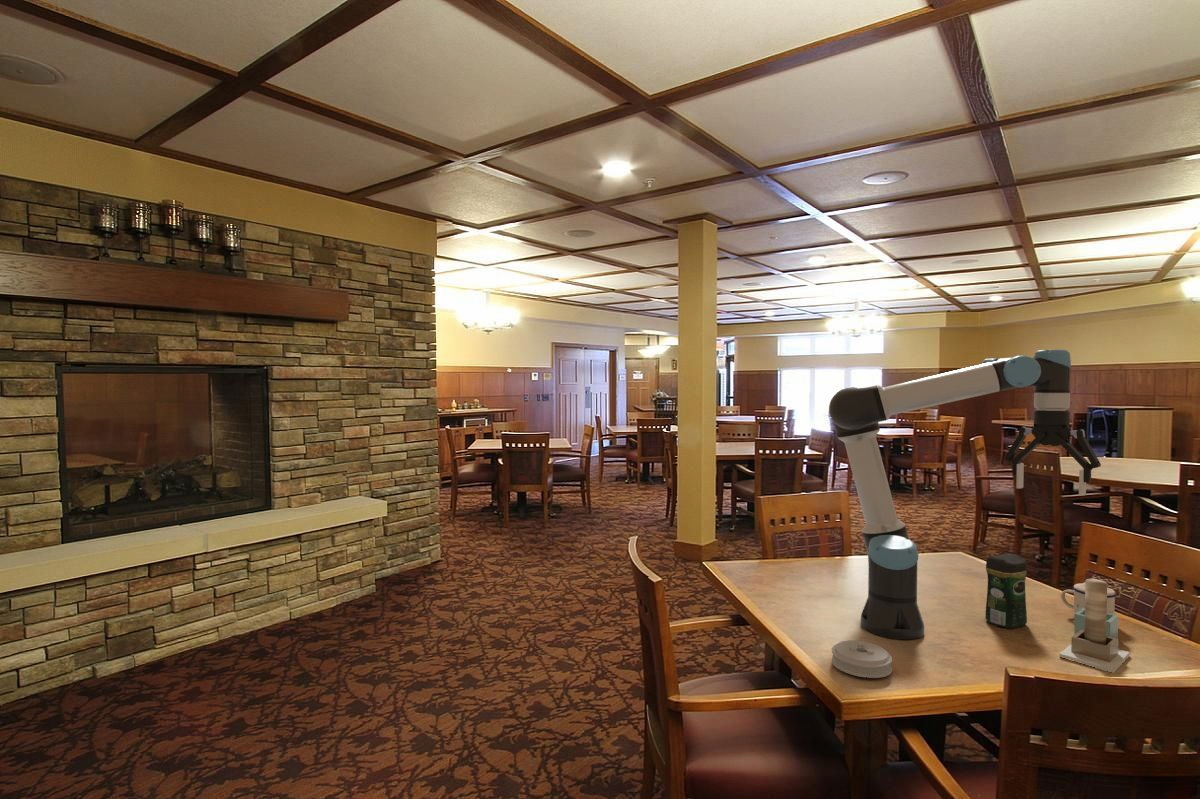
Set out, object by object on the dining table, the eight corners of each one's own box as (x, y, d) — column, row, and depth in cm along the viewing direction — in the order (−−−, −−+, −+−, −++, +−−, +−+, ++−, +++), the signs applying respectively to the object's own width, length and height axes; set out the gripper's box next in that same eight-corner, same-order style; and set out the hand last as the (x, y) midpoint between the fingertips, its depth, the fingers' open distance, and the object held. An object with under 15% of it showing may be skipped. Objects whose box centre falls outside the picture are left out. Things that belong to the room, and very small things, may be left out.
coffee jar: (1002, 615, 173) (1004, 549, 172) (1032, 625, 165) (1033, 556, 165) (979, 620, 169) (980, 553, 168) (1007, 631, 162) (1009, 560, 161)
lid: (870, 655, 148) (871, 634, 147) (904, 680, 135) (904, 657, 135) (821, 658, 146) (821, 637, 146) (850, 684, 133) (850, 661, 133)
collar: (1109, 662, 141) (1110, 647, 141) (1071, 651, 147) (1071, 637, 147) (1118, 654, 146) (1118, 639, 145) (1080, 643, 151) (1080, 629, 151)
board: (1113, 673, 138) (1113, 668, 138) (1059, 657, 146) (1059, 653, 146) (1129, 656, 147) (1129, 652, 147) (1077, 642, 154) (1077, 638, 154)
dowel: (1103, 658, 143) (1104, 585, 143) (1081, 652, 146) (1083, 581, 146) (1107, 653, 146) (1109, 582, 145) (1086, 647, 149) (1088, 577, 149)
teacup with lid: (1120, 623, 167) (1121, 580, 167) (1108, 631, 162) (1109, 587, 161) (1067, 610, 177) (1067, 569, 176) (1054, 617, 171) (1055, 575, 171)
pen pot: (1109, 646, 152) (1110, 622, 152) (1074, 637, 158) (1074, 613, 158) (1117, 639, 157) (1118, 615, 156) (1082, 630, 162) (1083, 607, 162)
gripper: (1117, 410, 152) (1115, 496, 153) (1002, 407, 172) (1001, 483, 172) (1108, 411, 148) (1106, 500, 148) (992, 408, 167) (990, 486, 168)
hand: (1050, 491), depth 160 cm, fingers open, 13 cm apart
